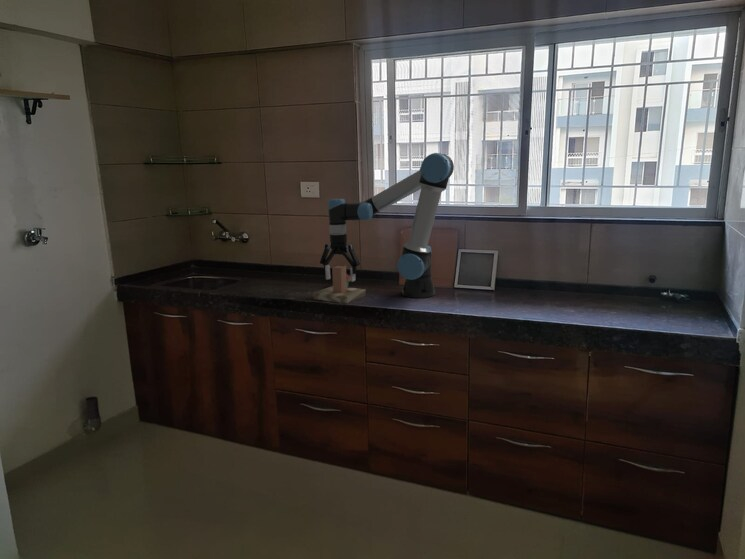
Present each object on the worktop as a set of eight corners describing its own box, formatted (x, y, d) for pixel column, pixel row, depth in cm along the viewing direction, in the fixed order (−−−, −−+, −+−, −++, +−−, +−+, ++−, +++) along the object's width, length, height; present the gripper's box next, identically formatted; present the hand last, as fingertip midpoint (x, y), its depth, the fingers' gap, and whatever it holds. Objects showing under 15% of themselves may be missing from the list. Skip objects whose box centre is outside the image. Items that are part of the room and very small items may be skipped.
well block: (365, 295, 243) (365, 289, 242) (347, 303, 229) (347, 296, 229) (333, 291, 252) (333, 285, 251) (313, 299, 238) (313, 292, 237)
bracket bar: (346, 296, 241) (346, 266, 238) (341, 298, 237) (340, 268, 235) (338, 295, 243) (337, 265, 241) (333, 297, 240) (332, 267, 237)
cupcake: (352, 285, 264) (351, 262, 262) (350, 289, 256) (349, 265, 254) (335, 285, 265) (334, 262, 263) (332, 289, 257) (331, 265, 254)
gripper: (366, 233, 232) (368, 280, 236) (320, 232, 244) (322, 276, 248) (357, 235, 225) (359, 283, 229) (310, 234, 237) (313, 279, 242)
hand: (340, 280), depth 239 cm, fingers open, 13 cm apart
